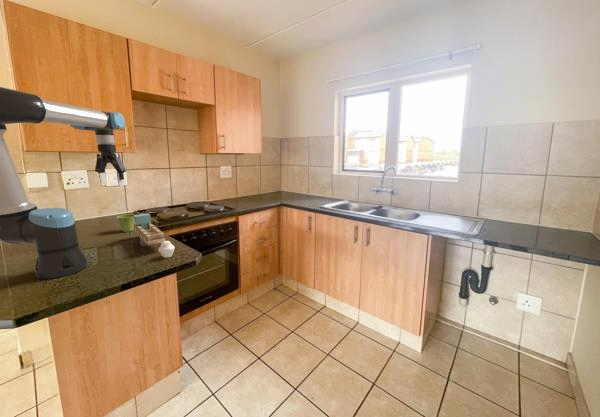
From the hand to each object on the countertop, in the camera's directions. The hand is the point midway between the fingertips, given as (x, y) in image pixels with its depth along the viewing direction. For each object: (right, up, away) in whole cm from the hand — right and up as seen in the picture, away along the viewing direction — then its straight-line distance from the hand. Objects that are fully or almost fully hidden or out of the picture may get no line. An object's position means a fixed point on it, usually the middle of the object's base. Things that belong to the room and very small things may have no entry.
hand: (112, 185), depth 138 cm
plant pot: (0, -25, +13) cm, 28 cm away
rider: (+19, -22, -4) cm, 29 cm away
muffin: (+42, -33, -26) cm, 59 cm away
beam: (+25, -29, -9) cm, 39 cm away
